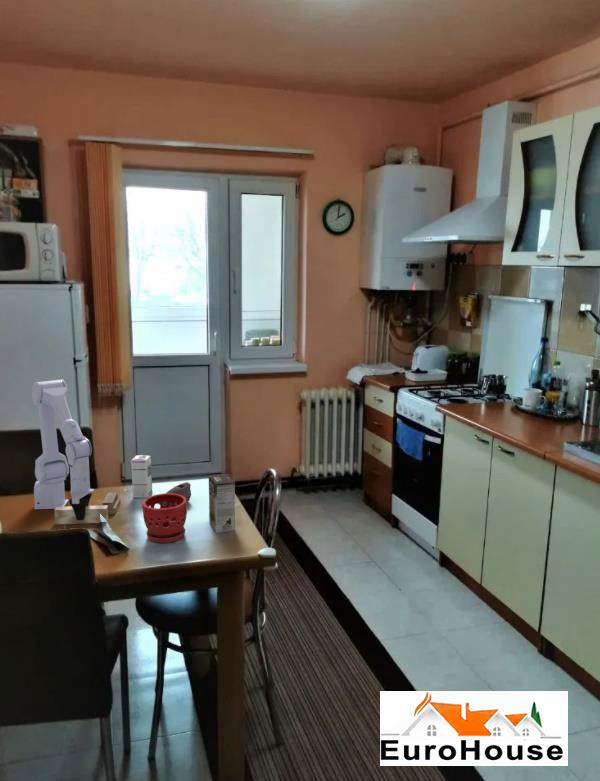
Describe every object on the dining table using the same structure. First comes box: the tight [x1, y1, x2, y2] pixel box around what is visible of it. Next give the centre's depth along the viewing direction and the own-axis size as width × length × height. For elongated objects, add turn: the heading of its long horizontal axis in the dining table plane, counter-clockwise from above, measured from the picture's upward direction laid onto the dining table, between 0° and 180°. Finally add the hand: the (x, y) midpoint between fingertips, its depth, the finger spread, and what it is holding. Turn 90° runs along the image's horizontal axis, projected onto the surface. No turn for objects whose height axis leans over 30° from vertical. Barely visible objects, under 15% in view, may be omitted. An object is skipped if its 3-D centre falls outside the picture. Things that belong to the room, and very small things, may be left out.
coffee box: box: [208, 473, 236, 534], centre depth 195 cm, size 9×6×16 cm
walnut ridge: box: [101, 492, 122, 515], centre depth 210 cm, size 5×10×4 cm, turn 7°
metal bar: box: [53, 504, 109, 525], centre depth 198 cm, size 16×3×5 cm, turn 97°
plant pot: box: [141, 492, 188, 544], centre depth 186 cm, size 13×13×12 cm
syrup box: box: [130, 454, 153, 499], centre depth 223 cm, size 6×6×14 cm
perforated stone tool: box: [162, 481, 192, 506], centre depth 213 cm, size 15×5×7 cm, turn 149°
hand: (81, 517), depth 198 cm, fingers open, 3 cm apart
